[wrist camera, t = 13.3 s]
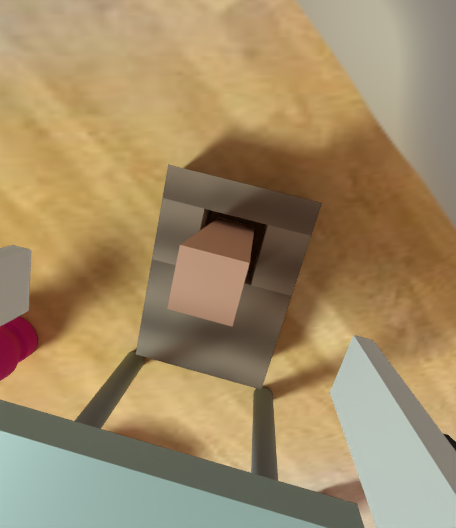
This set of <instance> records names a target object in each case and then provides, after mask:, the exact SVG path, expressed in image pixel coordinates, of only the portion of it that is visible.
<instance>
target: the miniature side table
mask: <svg viewBox="0 0 456 528" xmlns="http://www.w3.org/2000/svg"><path fill="white" fill-rule="evenodd" d="M144 362H145V359H144V357H143V356H140V355H136V351H132V352H130V353H128V355H127V356H126V357H125V358H124V360H123V361H122V362H121V363H120V365H119V366H118V367H117V368H116V370H115V371H114V372H113V373H112V375H111V376H110V377H109V379H108V380H107V381H106V382H105V384H104V385H103V386H102V387H101V389H100V390H99V391H98V392H97V394H96V395H95V396H94V397H93V399H92V400H91V401H90V402H89V404H88V405H87V406H86V407H85V409H84V410H83V411H82V412H81V414H80V415H79V416H78V417H77V419H76V420H75V421H72V420H68V419H65V418H61V417H58V416H55V415H51V414H48V413H44V412H41V411H37V410H34V409H31V408H27V407H24V406H20V405H17V404H13V403H10V402H7V401H3V400H0V528H364V525H363V522H362V519H361V515H360V512H359V509H358V506H357V504H356V503H352V502H349V501H345V500H342V499H339V498H335V497H332V496H328V495H325V494H321V493H318V492H315V491H311V490H308V489H304V488H301V487H298V486H294V485H291V484H287V483H284V482H280V481H278V473H277V457H276V441H275V425H274V409H273V394H272V391H271V390H270V389H268V388H266V387H262V389H258V388H257V389H256V390H255V391H254V400H253V433H252V467H251V473H250V472H246V471H243V470H239V469H236V468H232V467H229V466H226V465H222V464H219V463H215V462H212V461H209V460H205V459H202V458H198V457H195V456H191V455H188V454H185V453H181V452H178V451H174V450H171V449H167V448H164V447H161V446H157V445H154V444H150V443H147V442H144V441H140V440H137V439H133V438H130V437H126V436H123V435H120V434H116V433H113V432H109V431H106V430H102V429H101V428H102V426H103V425H104V423H105V422H106V420H107V419H108V417H109V416H110V414H111V413H112V411H113V410H114V408H115V406H116V405H117V403H118V402H119V400H120V399H121V397H122V396H123V394H124V393H125V391H126V390H127V388H128V387H129V385H130V384H131V382H132V381H133V379H134V378H135V376H136V375H137V373H138V372H139V370H140V369H141V367H142V366H143V364H144Z"/></svg>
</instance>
